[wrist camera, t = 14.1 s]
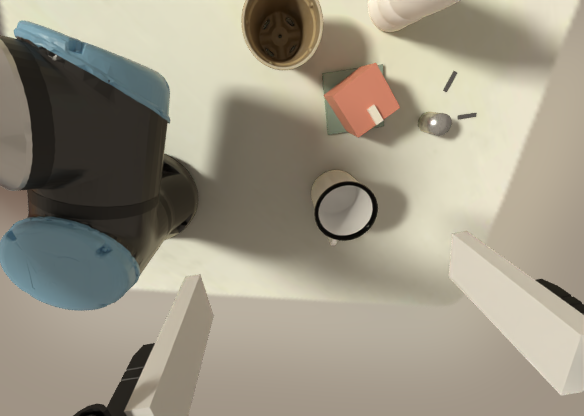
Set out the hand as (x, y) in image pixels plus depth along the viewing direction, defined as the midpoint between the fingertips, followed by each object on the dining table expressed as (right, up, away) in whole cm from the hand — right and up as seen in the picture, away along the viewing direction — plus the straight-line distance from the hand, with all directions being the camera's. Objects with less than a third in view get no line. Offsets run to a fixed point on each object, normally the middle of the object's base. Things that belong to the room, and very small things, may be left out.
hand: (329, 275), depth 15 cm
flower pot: (-4, +28, +26) cm, 38 cm away
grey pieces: (+23, +21, +31) cm, 44 cm away
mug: (+5, +5, +36) cm, 37 cm away
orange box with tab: (+7, +20, +29) cm, 36 cm away
